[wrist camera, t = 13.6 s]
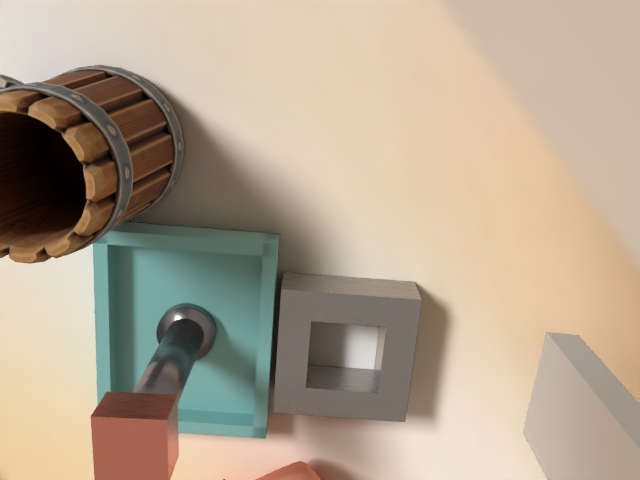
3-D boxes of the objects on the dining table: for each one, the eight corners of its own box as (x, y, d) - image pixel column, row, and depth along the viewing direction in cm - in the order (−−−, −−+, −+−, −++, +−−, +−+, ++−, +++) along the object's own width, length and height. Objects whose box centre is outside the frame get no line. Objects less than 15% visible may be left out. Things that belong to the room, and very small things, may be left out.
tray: (104, 220, 45) (92, 229, 43) (279, 233, 46) (277, 243, 43) (109, 409, 50) (98, 426, 48) (267, 420, 50) (265, 438, 48)
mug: (213, 114, 43) (160, 145, 29) (148, 238, 46) (69, 323, 32) (5, -6, 41) (-164, -37, 27) (-51, 131, 44) (-232, 171, 29)
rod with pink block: (160, 354, 48) (91, 483, 33) (158, 301, 47) (86, 412, 32) (216, 356, 48) (172, 487, 34) (217, 304, 47) (171, 416, 32)
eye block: (284, 272, 47) (281, 289, 43) (414, 282, 47) (422, 299, 44) (276, 388, 50) (272, 412, 46) (399, 397, 50) (405, 422, 46)
